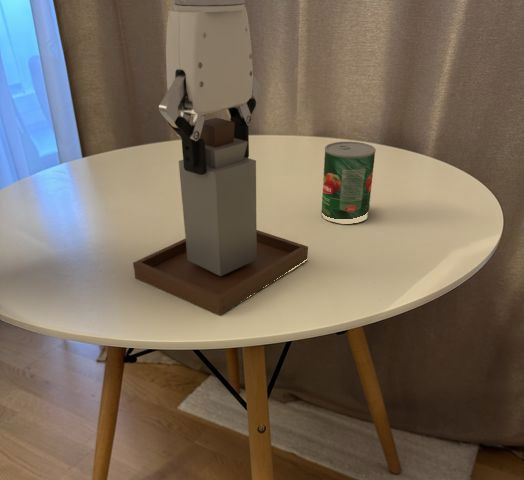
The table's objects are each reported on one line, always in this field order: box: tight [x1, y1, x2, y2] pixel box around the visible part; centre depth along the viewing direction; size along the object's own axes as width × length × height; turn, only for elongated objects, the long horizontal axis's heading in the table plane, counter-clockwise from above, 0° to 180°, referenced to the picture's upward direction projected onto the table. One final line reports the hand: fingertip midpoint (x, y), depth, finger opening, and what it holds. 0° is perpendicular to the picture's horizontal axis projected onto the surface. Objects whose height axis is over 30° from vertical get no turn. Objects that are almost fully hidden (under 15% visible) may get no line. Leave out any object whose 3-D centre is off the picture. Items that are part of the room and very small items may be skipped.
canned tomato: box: [321, 140, 377, 219], centre depth 89 cm, size 8×8×11 cm
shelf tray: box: [132, 229, 309, 316], centre depth 76 cm, size 19×16×2 cm
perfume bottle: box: [178, 117, 258, 276], centre depth 70 cm, size 7×7×18 cm
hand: (217, 163), depth 68 cm, fingers closed on perfume bottle, 7 cm apart
